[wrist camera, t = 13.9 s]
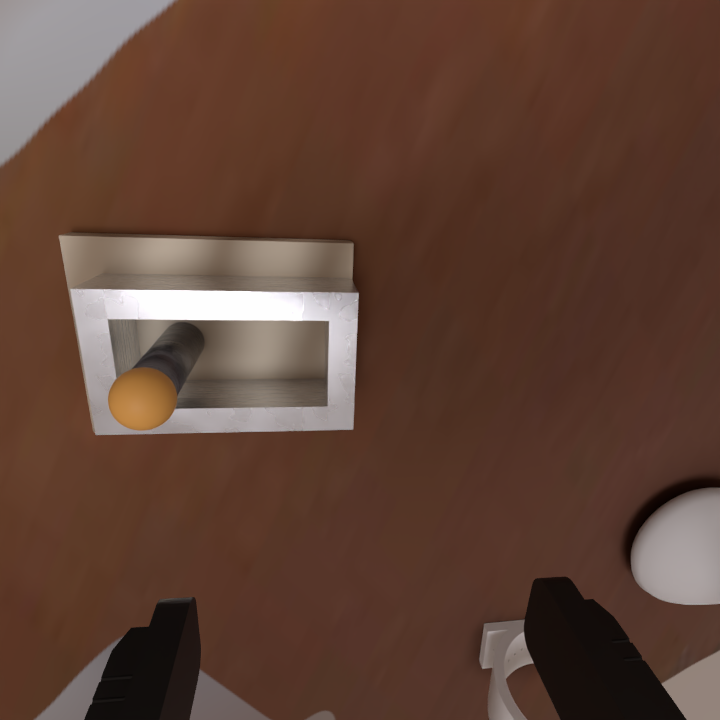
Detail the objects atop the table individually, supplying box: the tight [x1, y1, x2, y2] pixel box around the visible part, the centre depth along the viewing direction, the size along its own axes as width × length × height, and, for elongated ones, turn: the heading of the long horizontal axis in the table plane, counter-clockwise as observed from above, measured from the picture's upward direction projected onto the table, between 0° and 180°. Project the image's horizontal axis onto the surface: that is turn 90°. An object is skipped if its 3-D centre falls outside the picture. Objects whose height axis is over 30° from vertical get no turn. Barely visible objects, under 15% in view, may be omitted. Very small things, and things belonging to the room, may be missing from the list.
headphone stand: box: [479, 620, 534, 720], centre depth 38 cm, size 5×6×12 cm
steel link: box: [70, 273, 359, 435], centre depth 27 cm, size 14×8×4 cm, turn 88°
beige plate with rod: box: [59, 232, 354, 432], centre depth 25 cm, size 16×12×11 cm
